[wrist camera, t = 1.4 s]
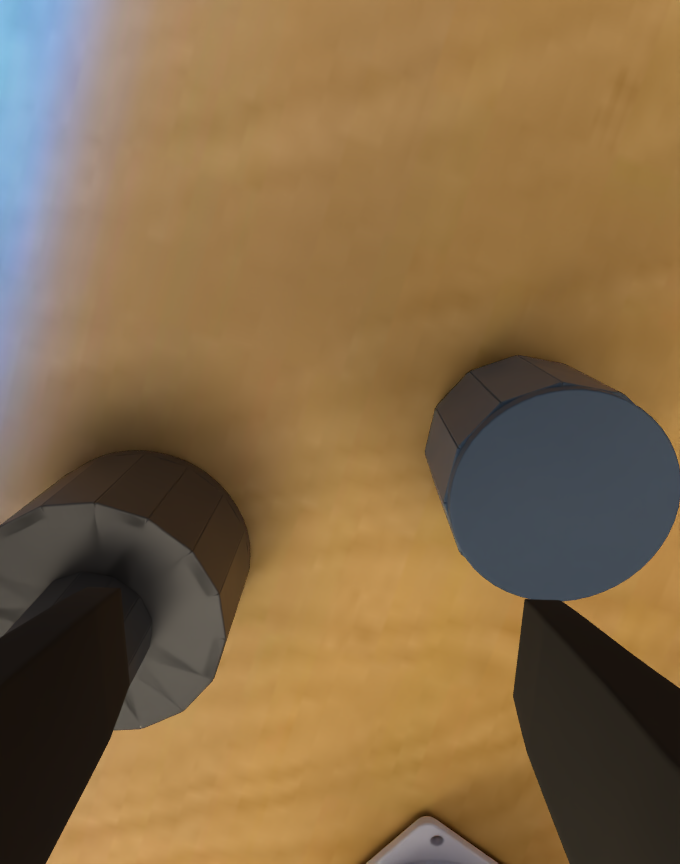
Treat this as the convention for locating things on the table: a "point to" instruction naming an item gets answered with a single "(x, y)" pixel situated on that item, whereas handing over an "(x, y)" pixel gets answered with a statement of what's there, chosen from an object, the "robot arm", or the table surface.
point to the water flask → (136, 568)
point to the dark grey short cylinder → (551, 478)
